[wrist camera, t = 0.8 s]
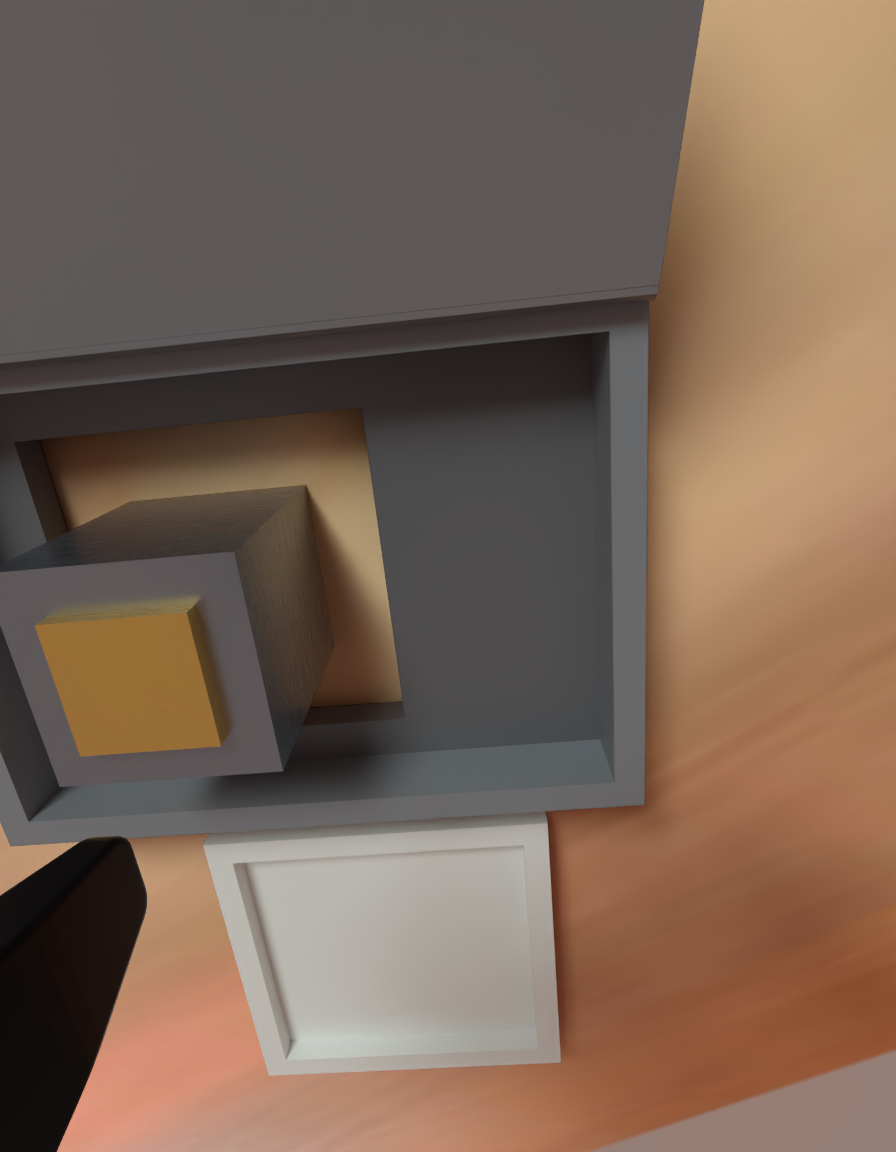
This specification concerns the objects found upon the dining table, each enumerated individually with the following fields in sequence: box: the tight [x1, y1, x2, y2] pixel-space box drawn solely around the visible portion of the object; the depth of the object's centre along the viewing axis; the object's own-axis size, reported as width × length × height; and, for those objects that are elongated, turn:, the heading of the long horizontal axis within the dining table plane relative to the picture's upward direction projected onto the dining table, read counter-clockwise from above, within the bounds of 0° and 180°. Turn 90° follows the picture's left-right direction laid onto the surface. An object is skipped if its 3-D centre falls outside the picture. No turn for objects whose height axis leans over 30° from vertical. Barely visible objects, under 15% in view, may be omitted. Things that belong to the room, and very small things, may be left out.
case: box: [0, 0, 704, 846], centre depth 12 cm, size 18×24×10 cm
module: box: [0, 485, 335, 787], centre depth 16 cm, size 5×5×6 cm
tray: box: [203, 811, 561, 1076], centre depth 23 cm, size 11×11×1 cm
